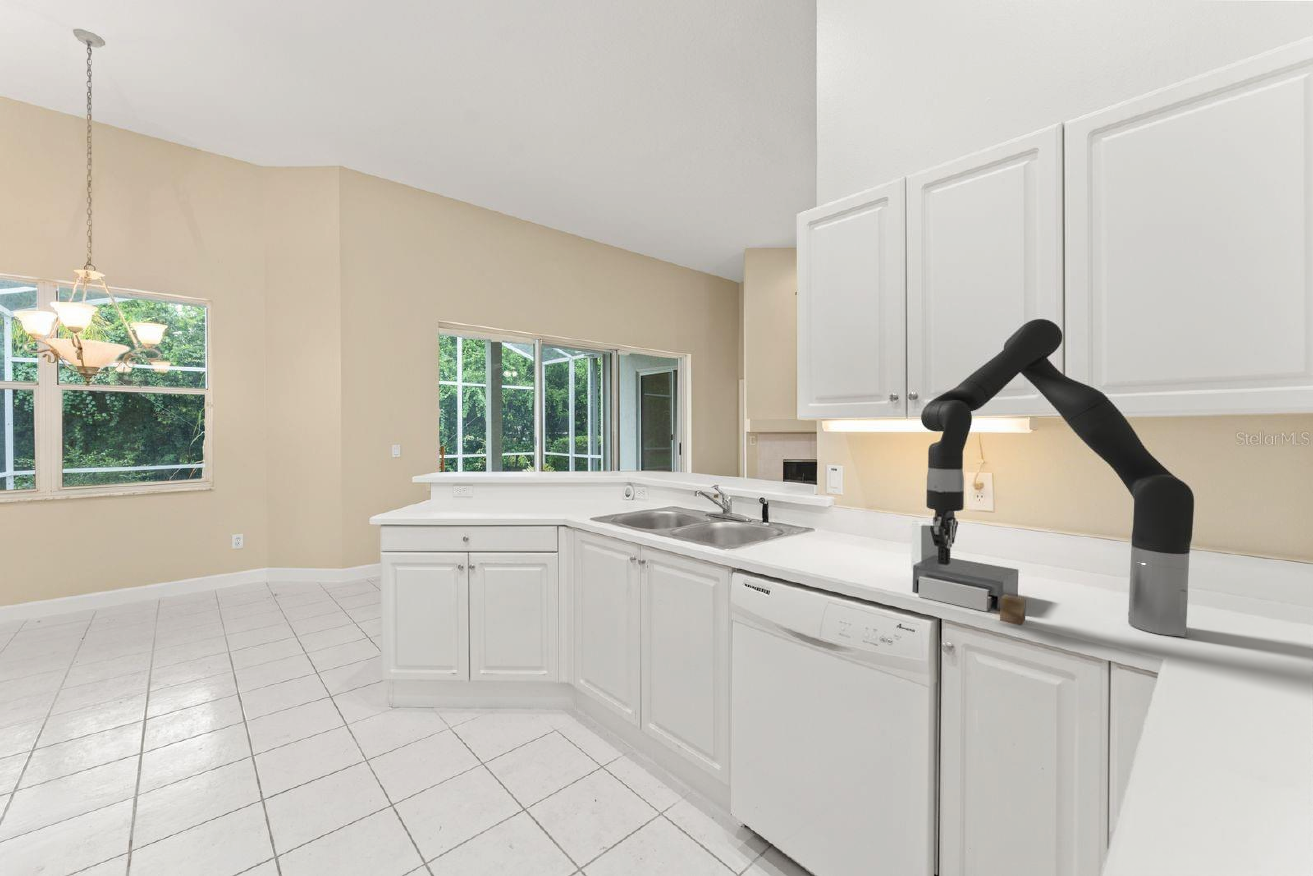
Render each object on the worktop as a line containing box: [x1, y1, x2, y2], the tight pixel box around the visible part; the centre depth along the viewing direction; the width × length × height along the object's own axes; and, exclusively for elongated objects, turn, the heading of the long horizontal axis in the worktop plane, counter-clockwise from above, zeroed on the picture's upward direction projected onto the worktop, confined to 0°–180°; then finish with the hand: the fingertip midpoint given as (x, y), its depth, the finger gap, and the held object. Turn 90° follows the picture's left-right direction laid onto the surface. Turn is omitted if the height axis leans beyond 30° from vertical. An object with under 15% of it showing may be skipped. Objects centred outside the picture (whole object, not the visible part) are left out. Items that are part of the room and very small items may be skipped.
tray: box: [917, 576, 998, 613], centre depth 138 cm, size 15×18×5 cm
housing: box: [912, 555, 1020, 612], centre depth 139 cm, size 20×16×7 cm
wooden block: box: [999, 594, 1027, 626], centre depth 121 cm, size 4×4×5 cm
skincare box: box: [910, 520, 938, 571], centre depth 159 cm, size 8×6×15 cm
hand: (944, 564), depth 125 cm, fingers closed
